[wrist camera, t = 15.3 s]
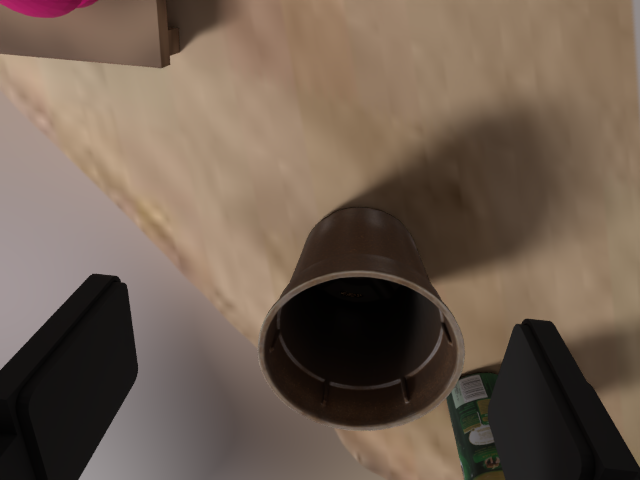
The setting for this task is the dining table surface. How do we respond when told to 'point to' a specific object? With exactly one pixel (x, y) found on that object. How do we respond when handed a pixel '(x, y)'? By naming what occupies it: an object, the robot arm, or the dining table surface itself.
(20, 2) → the pepper mill
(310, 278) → the plant pot
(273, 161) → the dining table surface
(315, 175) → the dining table surface
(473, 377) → the coffee jar
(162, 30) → the wooden stool
